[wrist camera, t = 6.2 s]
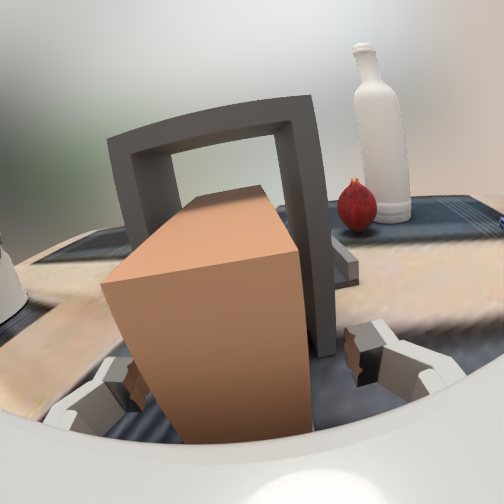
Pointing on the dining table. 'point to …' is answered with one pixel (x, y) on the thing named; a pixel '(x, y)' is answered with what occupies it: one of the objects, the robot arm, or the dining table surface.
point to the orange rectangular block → (219, 320)
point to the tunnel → (292, 175)
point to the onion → (357, 206)
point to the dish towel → (502, 222)
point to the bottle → (381, 140)
